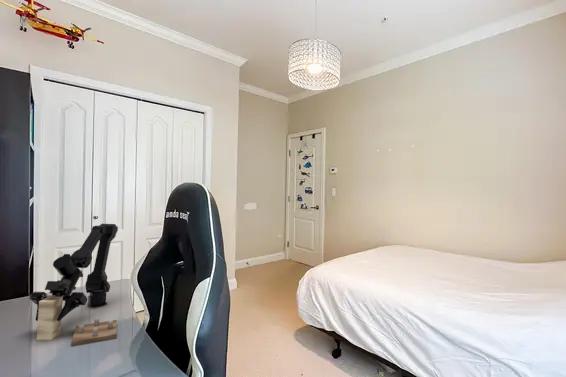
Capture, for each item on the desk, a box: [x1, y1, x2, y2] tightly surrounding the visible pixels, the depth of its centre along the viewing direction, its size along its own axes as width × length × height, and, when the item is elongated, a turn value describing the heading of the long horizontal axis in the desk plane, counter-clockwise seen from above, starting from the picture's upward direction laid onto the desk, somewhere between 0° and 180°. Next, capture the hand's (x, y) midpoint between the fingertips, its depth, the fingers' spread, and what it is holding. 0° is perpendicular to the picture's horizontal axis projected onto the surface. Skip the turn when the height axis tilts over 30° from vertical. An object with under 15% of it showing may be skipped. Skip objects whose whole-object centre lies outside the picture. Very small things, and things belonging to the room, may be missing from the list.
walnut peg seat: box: [70, 317, 118, 347], centre depth 113 cm, size 14×14×4 cm
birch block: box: [36, 297, 63, 341], centre depth 110 cm, size 5×5×14 cm
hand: (47, 320), depth 108 cm, fingers open, 7 cm apart
